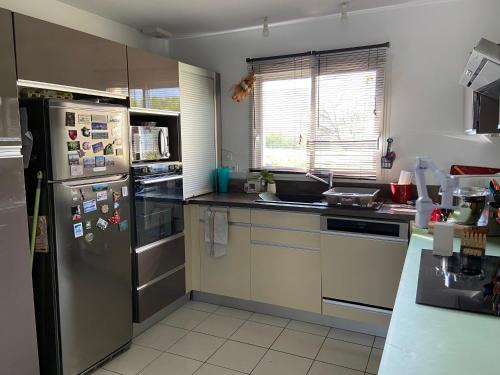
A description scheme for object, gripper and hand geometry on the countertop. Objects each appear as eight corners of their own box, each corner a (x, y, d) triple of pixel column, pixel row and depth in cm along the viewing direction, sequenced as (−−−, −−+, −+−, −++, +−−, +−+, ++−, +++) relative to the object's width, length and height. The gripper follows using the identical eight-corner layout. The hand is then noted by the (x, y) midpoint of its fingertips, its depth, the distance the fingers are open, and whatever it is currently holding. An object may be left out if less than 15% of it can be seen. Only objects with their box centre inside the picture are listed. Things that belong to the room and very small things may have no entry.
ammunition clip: (485, 258, 186) (487, 233, 185) (484, 259, 185) (487, 234, 183) (459, 254, 192) (461, 230, 190) (459, 255, 190) (461, 231, 189)
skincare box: (452, 255, 191) (455, 223, 188) (450, 258, 185) (453, 226, 183) (433, 252, 195) (436, 221, 193) (431, 255, 190) (433, 223, 188)
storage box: (428, 229, 244) (428, 222, 243) (461, 232, 236) (461, 225, 236) (427, 233, 233) (428, 226, 233) (462, 236, 226) (462, 230, 225)
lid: (428, 222, 244) (428, 220, 244) (461, 225, 236) (461, 223, 236) (428, 226, 232) (428, 225, 232) (462, 230, 224) (463, 228, 224)
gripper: (433, 198, 230) (431, 221, 231) (461, 200, 223) (459, 224, 225) (433, 196, 236) (431, 219, 238) (461, 198, 230) (459, 221, 232)
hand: (445, 221), depth 232 cm, fingers closed
